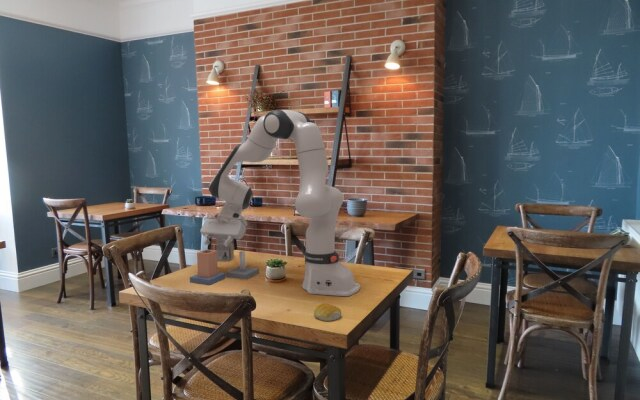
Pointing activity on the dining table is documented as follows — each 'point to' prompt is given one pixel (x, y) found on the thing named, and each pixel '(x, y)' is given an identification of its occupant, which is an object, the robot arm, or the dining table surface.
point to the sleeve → (207, 263)
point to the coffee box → (224, 250)
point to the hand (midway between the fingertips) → (215, 245)
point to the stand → (242, 269)
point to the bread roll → (327, 312)
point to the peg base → (207, 279)
